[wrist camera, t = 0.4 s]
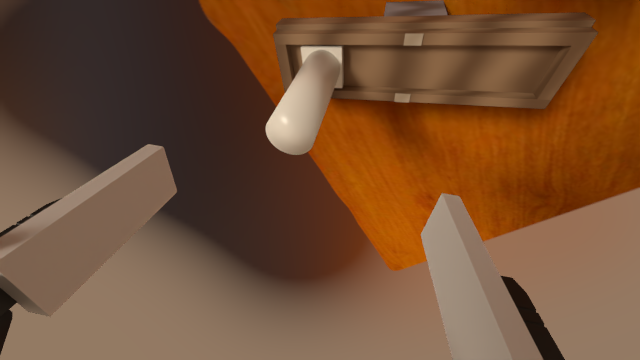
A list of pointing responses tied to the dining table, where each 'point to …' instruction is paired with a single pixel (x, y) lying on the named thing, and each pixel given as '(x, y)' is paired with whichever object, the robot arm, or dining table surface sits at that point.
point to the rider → (306, 99)
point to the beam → (444, 54)
